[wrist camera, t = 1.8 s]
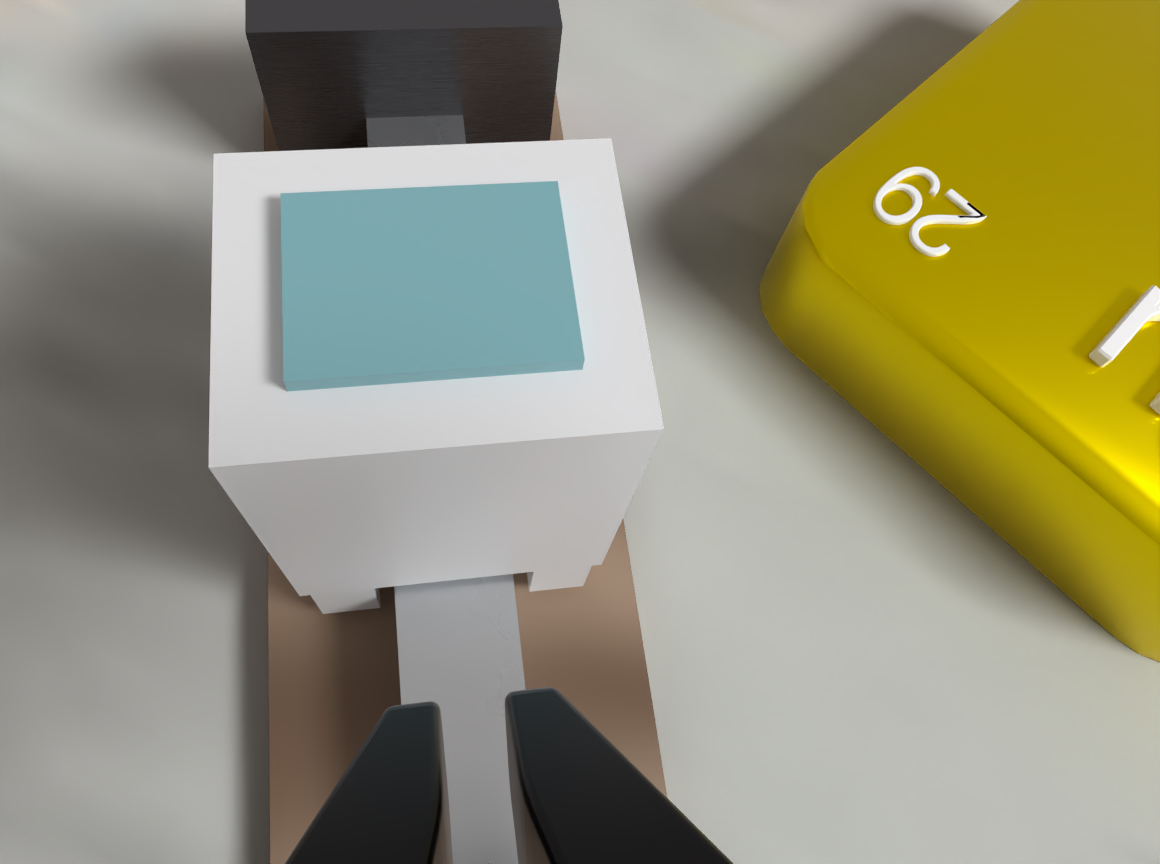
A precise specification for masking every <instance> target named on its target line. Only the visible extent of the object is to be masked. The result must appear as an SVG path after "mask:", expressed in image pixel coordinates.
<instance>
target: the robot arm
mask: <svg viewBox="0 0 1160 864" xmlns="http://www.w3.org/2000/svg"><path fill="white" fill-rule="evenodd" d="M505 720H506V737H507V753H508V769H509V783H510V794H511V803H512V812H513V821H514V829H515V838H516V846H517V855H518V864H733V863H732V862H731V861H730V860H729V859H728V858H727V857H726V856H725V855H724V854H723V853H722V852H721V851H720V850H719V849H718V848H717V847H716V846H715V845H714V844H713V843H712V842H711V841H710V840H709V839H708V838H707V837H706V836H705V835H704V834H703V833H702V832H701V831H700V830H699V829H698V828H697V827H696V826H695V825H694V824H693V823H692V822H691V821H690V820H689V819H688V818H687V817H686V816H685V815H684V814H683V813H682V812H681V811H680V810H679V809H678V808H677V807H676V806H675V805H674V804H673V803H672V802H671V801H670V800H669V799H668V798H667V797H666V796H665V795H664V794H663V793H662V792H661V791H660V790H659V789H658V788H657V787H655V786H654V785H653V784H652V783H651V782H650V781H649V780H648V779H647V778H646V777H645V776H644V775H643V774H642V773H641V772H640V771H639V770H638V769H637V768H636V767H635V766H634V765H633V764H632V763H631V762H630V761H629V760H628V759H627V758H626V757H625V756H624V755H623V754H622V753H621V752H620V751H619V750H618V749H617V748H616V747H615V746H614V745H613V744H612V743H611V742H610V741H609V740H608V739H607V738H606V737H605V736H604V735H603V734H602V733H601V732H600V731H599V730H598V729H597V728H596V727H595V726H594V725H593V724H592V723H591V722H590V721H589V720H588V719H587V718H586V717H585V716H584V715H583V714H582V713H581V712H580V711H579V710H578V709H577V708H576V707H575V706H574V705H573V704H572V703H571V702H570V701H569V700H568V699H567V698H566V697H565V696H564V695H563V694H562V693H561V692H560V691H558V690H557V689H555V688H553V687H543V688H534V689H526V690H518V691H512V692H510V693H509V694H507V696H506V698H505ZM285 864H453V856H452V841H451V826H450V810H449V797H448V784H447V774H446V763H445V752H444V741H443V731H442V720H441V711H440V707H439V705H438V704H437V703H435V702H433V701H427V702H419V703H411V704H402V705H395V706H391V707H389V708H388V709H386V710H385V711H384V713H383V714H382V716H381V717H380V719H379V720H378V722H377V723H376V725H375V726H374V728H373V729H372V731H371V732H370V734H369V736H368V737H367V739H366V740H365V742H364V743H363V745H362V746H361V748H360V749H359V751H358V752H357V754H356V755H355V757H354V758H353V760H352V762H351V763H350V765H349V766H348V768H347V769H346V771H345V772H344V774H343V775H342V777H341V778H340V780H339V781H338V783H337V784H336V786H335V787H334V789H333V791H332V792H331V794H330V795H329V797H328V798H327V800H326V801H325V803H324V804H323V806H322V807H321V809H320V810H319V812H318V813H317V815H316V817H315V818H314V820H313V821H312V823H311V824H310V826H309V827H308V829H307V830H306V832H305V833H304V835H303V836H302V838H301V839H300V841H299V843H298V844H297V846H296V847H295V849H294V850H293V852H292V853H291V855H290V856H289V858H288V859H287V861H286V862H285Z"/></svg>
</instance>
